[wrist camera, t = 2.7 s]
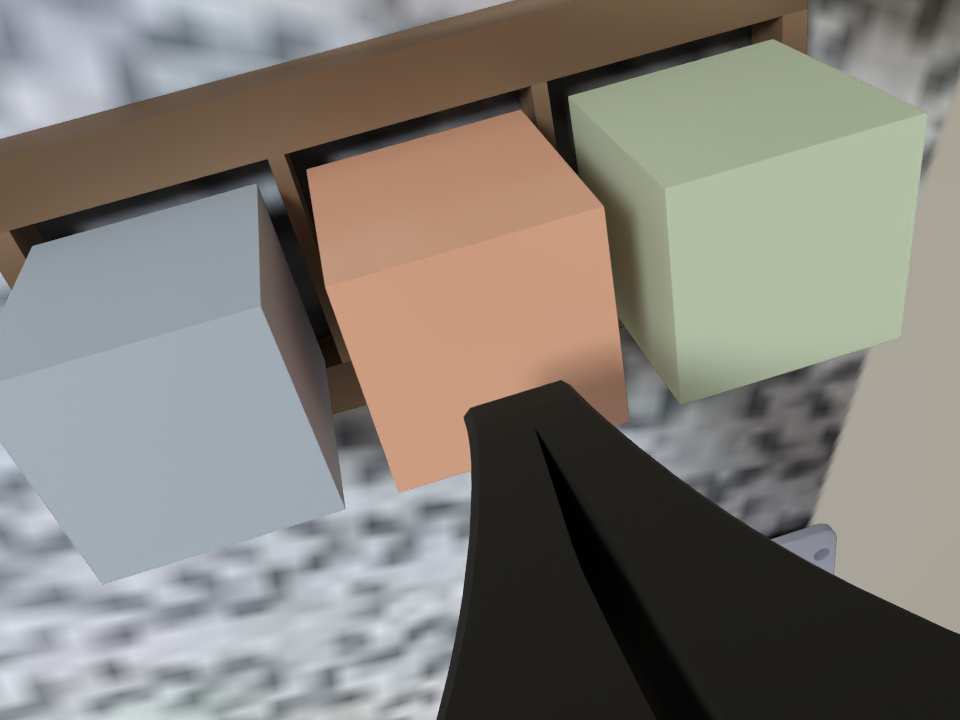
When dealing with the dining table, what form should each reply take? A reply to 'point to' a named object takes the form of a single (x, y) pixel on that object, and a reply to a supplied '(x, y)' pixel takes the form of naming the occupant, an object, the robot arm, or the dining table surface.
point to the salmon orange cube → (466, 284)
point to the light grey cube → (167, 386)
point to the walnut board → (346, 113)
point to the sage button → (752, 212)
